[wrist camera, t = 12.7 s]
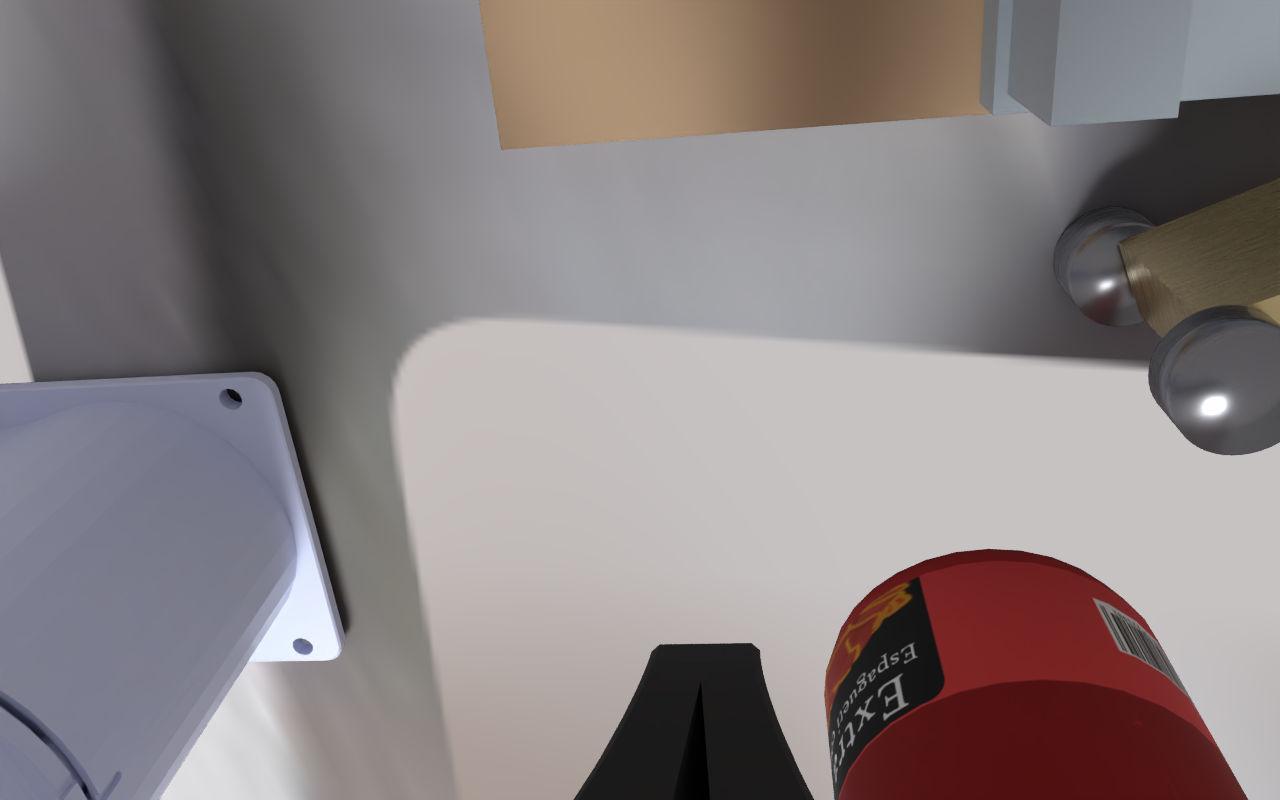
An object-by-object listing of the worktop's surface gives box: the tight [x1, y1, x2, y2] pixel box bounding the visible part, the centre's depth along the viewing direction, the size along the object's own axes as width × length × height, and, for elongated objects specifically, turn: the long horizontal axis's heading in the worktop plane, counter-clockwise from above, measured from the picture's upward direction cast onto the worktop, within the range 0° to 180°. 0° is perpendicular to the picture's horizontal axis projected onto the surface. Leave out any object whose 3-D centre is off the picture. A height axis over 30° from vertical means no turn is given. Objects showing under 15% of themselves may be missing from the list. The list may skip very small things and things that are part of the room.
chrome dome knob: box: [1054, 207, 1157, 327], centre depth 20 cm, size 2×2×1 cm
